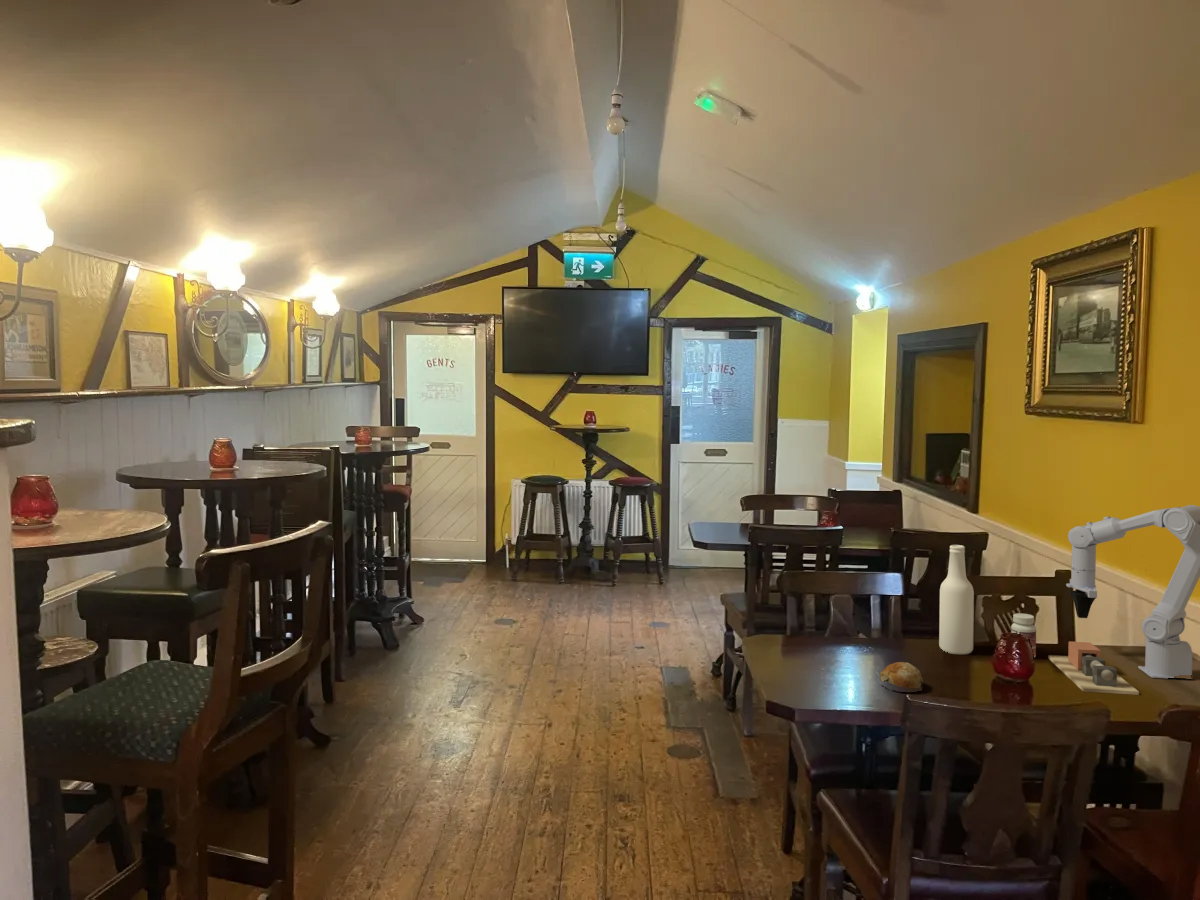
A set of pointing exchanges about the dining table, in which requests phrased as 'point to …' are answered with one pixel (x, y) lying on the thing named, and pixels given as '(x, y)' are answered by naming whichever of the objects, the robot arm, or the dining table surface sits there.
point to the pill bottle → (1025, 628)
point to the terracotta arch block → (1078, 649)
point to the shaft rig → (1094, 675)
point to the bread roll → (902, 675)
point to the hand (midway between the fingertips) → (1082, 617)
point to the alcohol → (956, 606)
